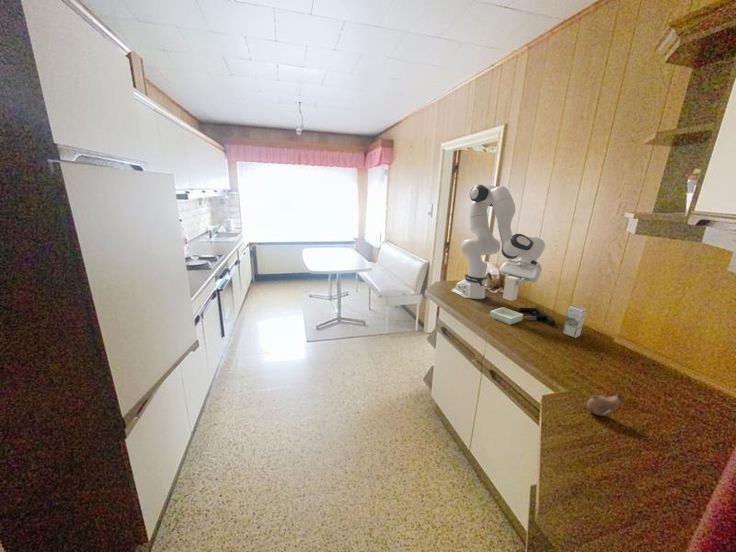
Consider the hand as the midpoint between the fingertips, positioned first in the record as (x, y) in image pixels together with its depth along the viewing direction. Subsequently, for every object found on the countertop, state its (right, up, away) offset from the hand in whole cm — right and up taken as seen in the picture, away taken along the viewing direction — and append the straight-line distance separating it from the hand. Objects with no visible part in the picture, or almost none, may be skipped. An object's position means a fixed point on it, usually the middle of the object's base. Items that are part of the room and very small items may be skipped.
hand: (511, 283), depth 151 cm
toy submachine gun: (+17, -20, +9) cm, 28 cm away
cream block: (0, -8, +3) cm, 9 cm away
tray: (0, -20, +6) cm, 21 cm away
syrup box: (+24, -26, -10) cm, 37 cm away
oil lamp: (-4, -40, -62) cm, 74 cm away
